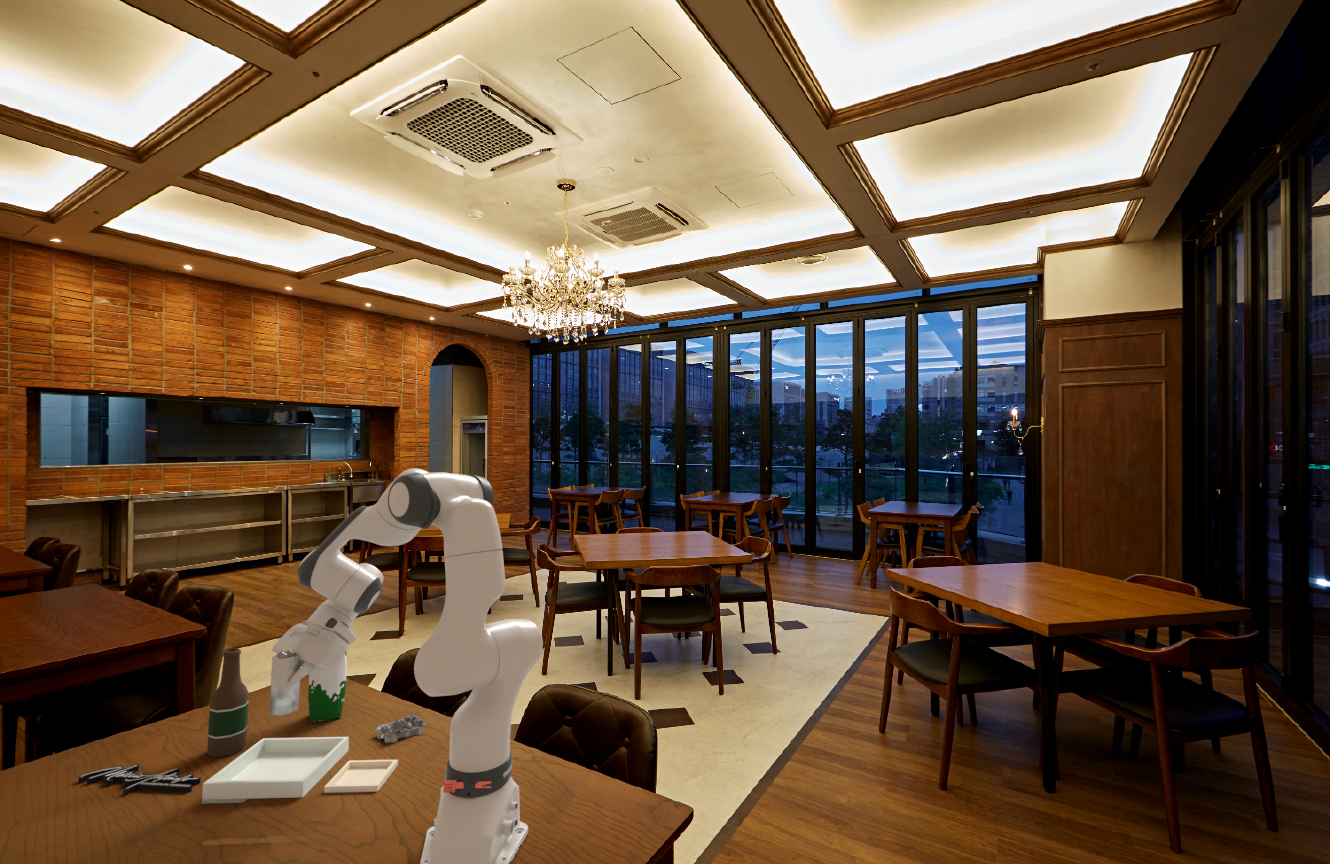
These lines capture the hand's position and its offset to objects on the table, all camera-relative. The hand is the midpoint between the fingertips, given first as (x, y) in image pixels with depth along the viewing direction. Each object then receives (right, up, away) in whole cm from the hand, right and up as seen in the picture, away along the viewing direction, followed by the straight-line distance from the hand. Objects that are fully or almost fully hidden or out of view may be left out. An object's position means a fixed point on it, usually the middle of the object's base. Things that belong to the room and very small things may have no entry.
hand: (282, 679), depth 132 cm
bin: (0, -21, -1) cm, 21 cm away
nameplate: (-29, -21, -4) cm, 36 cm away
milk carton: (-8, -23, +31) cm, 39 cm away
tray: (+19, -21, -2) cm, 29 cm away
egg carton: (+18, -23, +19) cm, 35 cm away
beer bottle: (-21, -22, +11) cm, 32 cm away
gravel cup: (0, -7, 0) cm, 7 cm away
